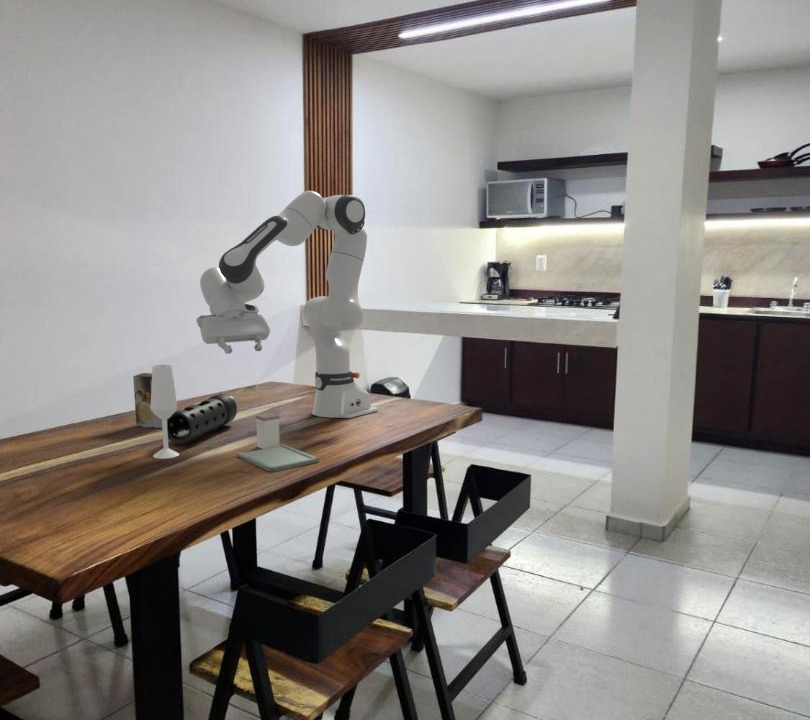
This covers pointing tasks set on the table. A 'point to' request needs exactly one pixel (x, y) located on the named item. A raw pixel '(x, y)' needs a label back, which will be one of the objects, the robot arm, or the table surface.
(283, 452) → the tray
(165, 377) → the champagne flute
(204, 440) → the table surface
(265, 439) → the canister
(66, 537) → the table surface
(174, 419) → the muzzle brake
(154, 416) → the coffee box
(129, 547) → the table surface
